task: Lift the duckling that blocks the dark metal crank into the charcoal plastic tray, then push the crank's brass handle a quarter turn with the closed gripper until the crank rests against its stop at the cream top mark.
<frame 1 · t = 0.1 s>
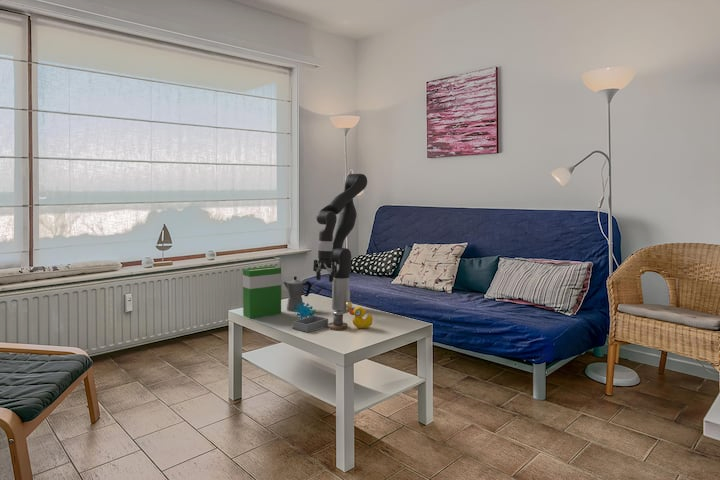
hand: (324, 280, 249), 17 cm above the table, tool pointing down, fingers open, 8 cm apart
duckling: (360, 328, 224), on the table
gear: (305, 318, 240), on the table
tray: (310, 327, 224), on the table
green box: (262, 315, 246), on the table
coffeepot: (297, 310, 258), on the table
crank: (343, 308, 227), point 8 cm above the table, hinge at 180.0°
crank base: (338, 327, 225), on the table
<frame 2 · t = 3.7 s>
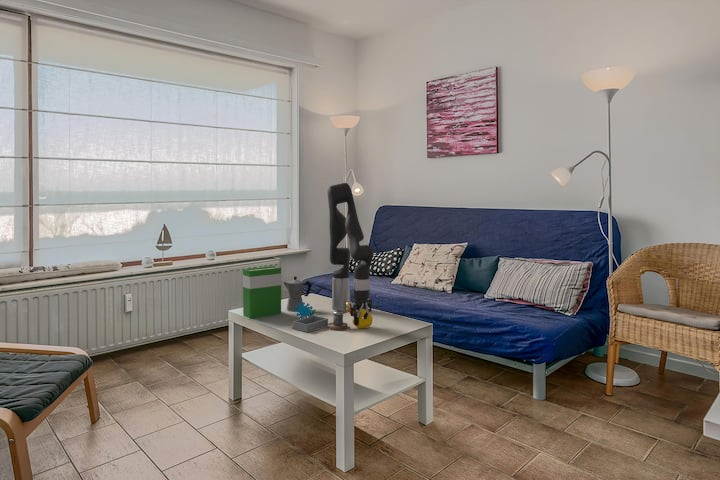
hand: (361, 323, 224), 2 cm above the table, tool pointing down, fingers closed on duckling, 6 cm apart
duckling: (360, 328, 224), on the table, touching gripper
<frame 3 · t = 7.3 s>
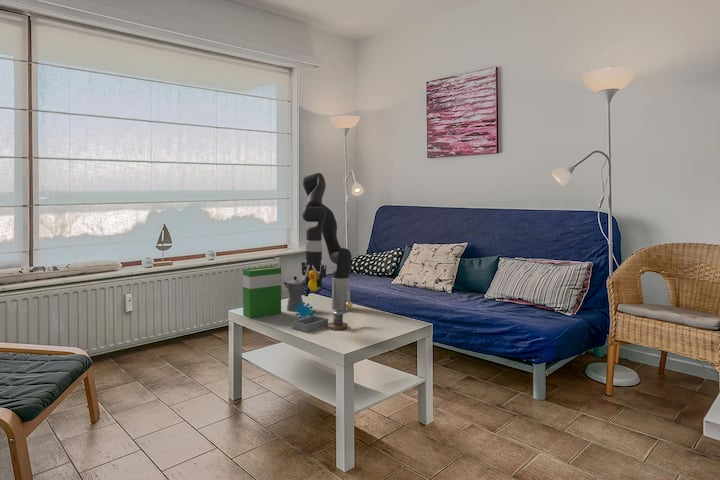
hand: (313, 285, 222), 20 cm above the table, tool pointing down, fingers closed on duckling, 6 cm apart
duckling: (314, 291, 222), point 17 cm above the table, touching gripper
when the fingers open (5 cm above the table, at t = 10.9 s): duckling drops 2 cm, resting on tray.
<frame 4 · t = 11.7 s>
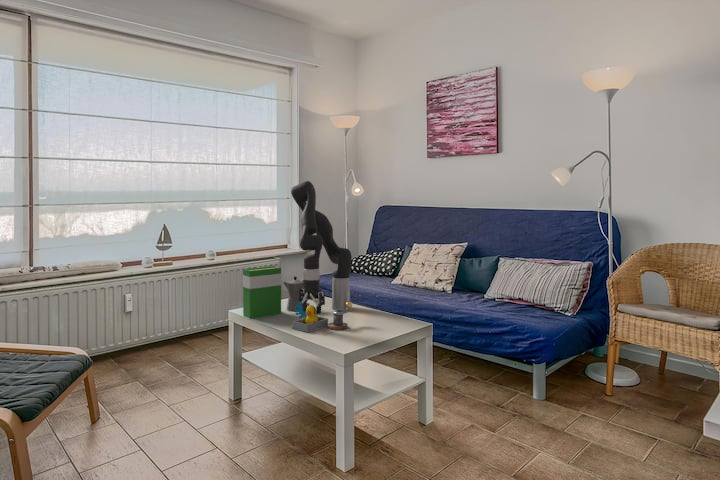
hand: (311, 312, 224), 7 cm above the table, tool pointing down, fingers open, 8 cm apart
duckling: (311, 326, 224), resting on tray
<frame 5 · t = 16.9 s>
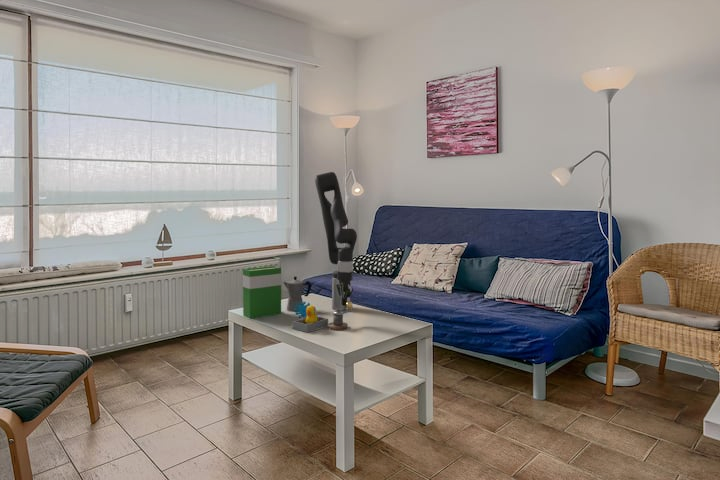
hand: (344, 305, 232), 9 cm above the table, tool pointing down, fingers closed
crank: (343, 308, 226), point 8 cm above the table, hinge at 179.0°, touching gripper
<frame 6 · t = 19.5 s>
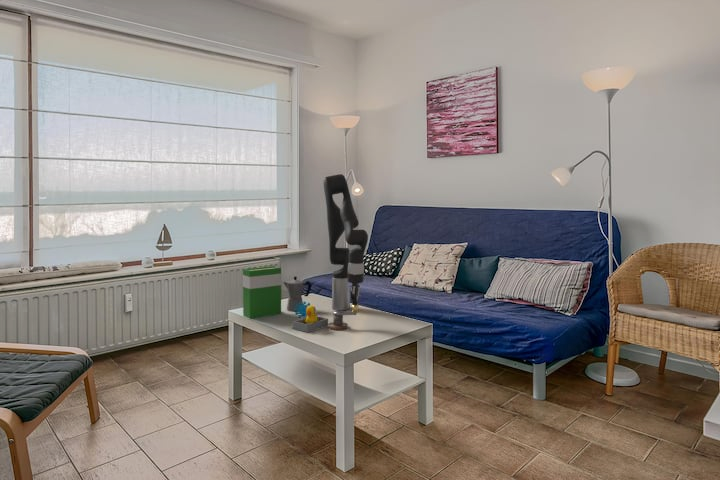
hand: (354, 307, 228), 9 cm above the table, tool pointing down, fingers closed
crank: (345, 309, 224), point 8 cm above the table, hinge at 133.3°, touching gripper
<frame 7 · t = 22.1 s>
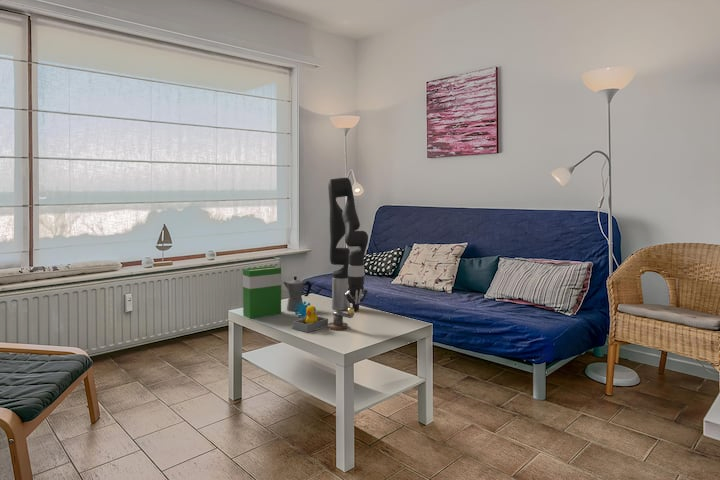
hand: (355, 311, 221), 8 cm above the table, tool pointing down, fingers closed
crank: (343, 311, 221), point 8 cm above the table, hinge at 87.5°, touching gripper
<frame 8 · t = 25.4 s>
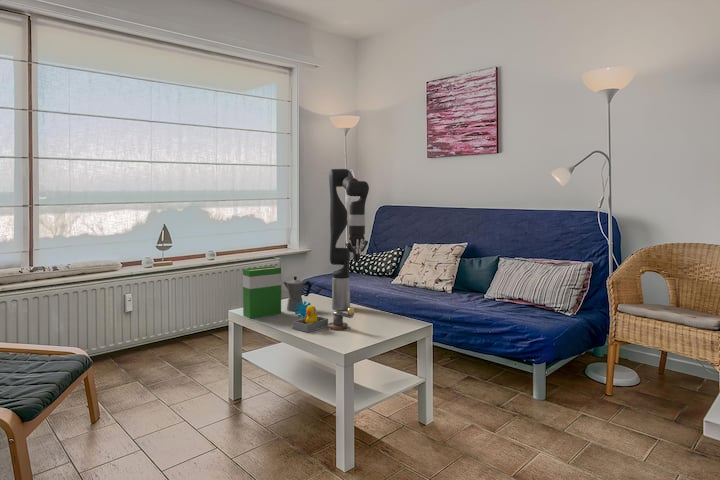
hand: (356, 261, 224), 31 cm above the table, tool pointing down, fingers closed
crank: (343, 311, 221), point 8 cm above the table, hinge at 87.4°
at the end: duckling inside the target area on the tray (0.5 cm from its centre), point 0.4 cm above the tray's base; crank at +87° (first picture: +180°); duckling tilted 0° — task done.
